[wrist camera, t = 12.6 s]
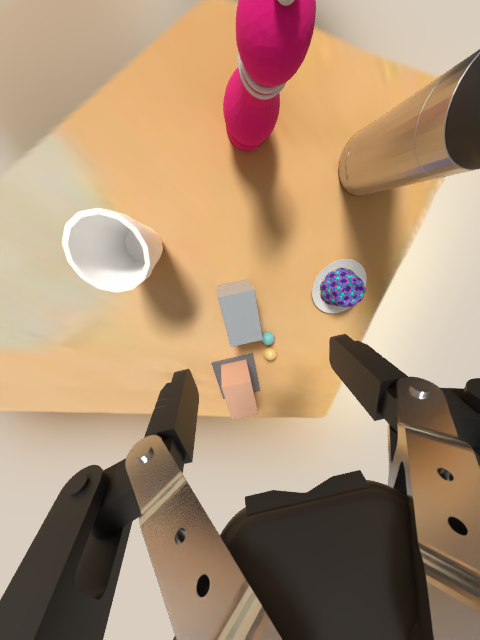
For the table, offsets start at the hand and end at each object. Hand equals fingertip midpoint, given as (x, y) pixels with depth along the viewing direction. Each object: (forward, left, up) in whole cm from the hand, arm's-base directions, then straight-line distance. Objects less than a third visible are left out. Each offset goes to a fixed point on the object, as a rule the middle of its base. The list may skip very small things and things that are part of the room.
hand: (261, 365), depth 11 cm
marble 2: (-5, +21, -30) cm, 37 cm away
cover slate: (0, +8, -30) cm, 31 cm away
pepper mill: (-7, -20, -30) cm, 37 cm away
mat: (+4, +27, -30) cm, 40 cm away
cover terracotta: (+4, +27, -30) cm, 40 cm away
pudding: (-22, +9, -31) cm, 39 cm away
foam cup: (+14, -7, -30) cm, 34 cm away
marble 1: (-5, +17, -30) cm, 35 cm away
